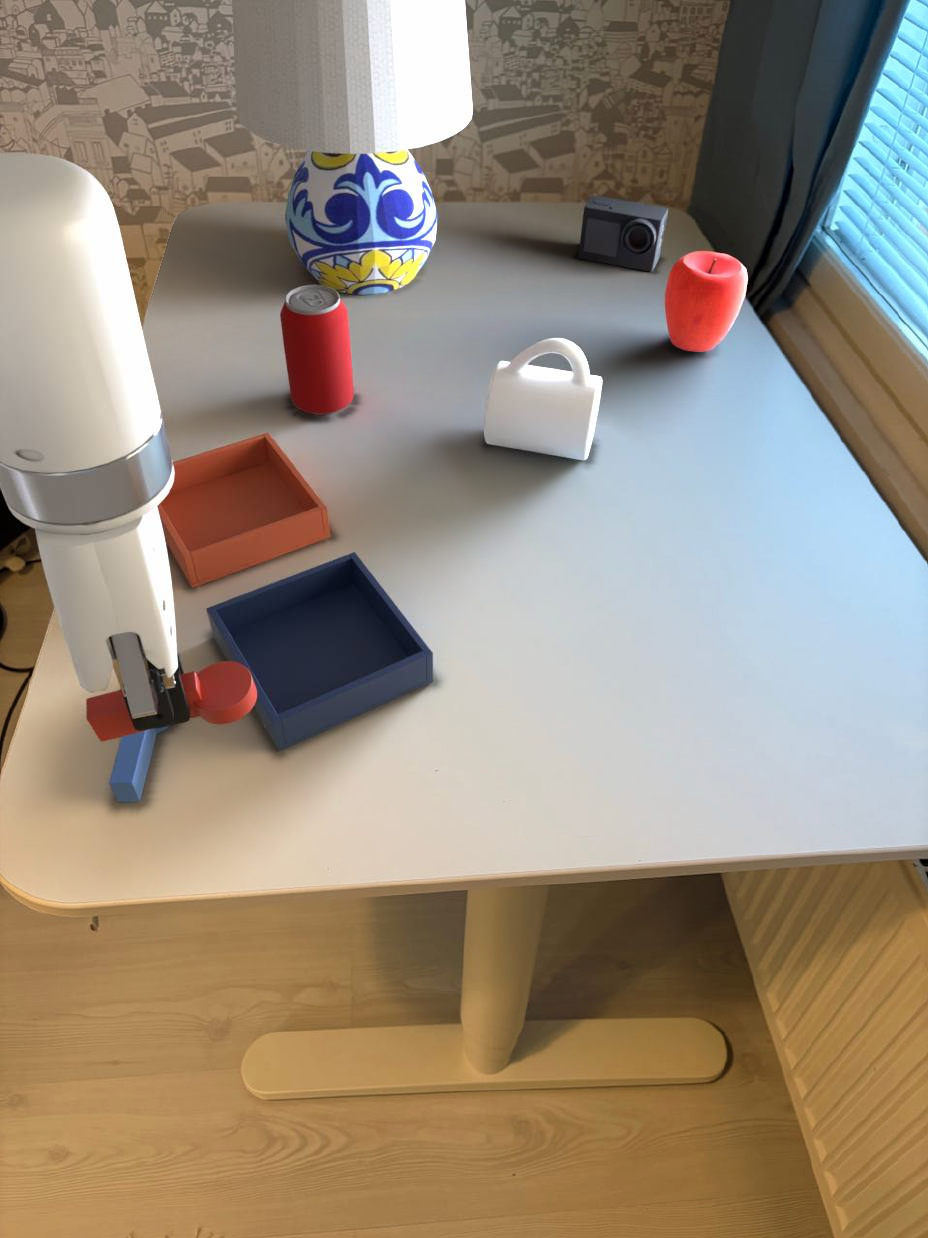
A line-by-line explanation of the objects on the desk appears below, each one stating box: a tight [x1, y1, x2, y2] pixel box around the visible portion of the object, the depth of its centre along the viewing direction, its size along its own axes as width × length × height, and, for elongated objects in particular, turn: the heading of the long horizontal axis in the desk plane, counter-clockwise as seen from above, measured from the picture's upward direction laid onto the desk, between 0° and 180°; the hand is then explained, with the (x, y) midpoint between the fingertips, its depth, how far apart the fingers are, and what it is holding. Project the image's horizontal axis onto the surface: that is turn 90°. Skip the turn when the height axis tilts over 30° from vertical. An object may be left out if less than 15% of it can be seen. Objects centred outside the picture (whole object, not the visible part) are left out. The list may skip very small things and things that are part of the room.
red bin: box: [157, 431, 331, 589], centre depth 84 cm, size 13×13×4 cm
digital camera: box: [578, 194, 669, 273], centre depth 121 cm, size 10×5×7 cm, turn 70°
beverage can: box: [279, 284, 355, 416], centre depth 94 cm, size 7×7×12 cm
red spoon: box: [85, 660, 257, 743], centre depth 55 cm, size 10×4×2 cm, turn 107°
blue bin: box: [205, 551, 434, 752], centre depth 72 cm, size 13×13×4 cm
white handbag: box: [483, 337, 603, 461], centre depth 90 cm, size 8×10×12 cm
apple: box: [664, 250, 749, 353], centre depth 104 cm, size 9×9×11 cm
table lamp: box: [231, 0, 474, 296], centre depth 105 cm, size 27×27×40 cm
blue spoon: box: [108, 725, 171, 803], centre depth 67 cm, size 10×4×2 cm, turn 2°
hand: (161, 706), depth 55 cm, fingers closed on red spoon, 1 cm apart
